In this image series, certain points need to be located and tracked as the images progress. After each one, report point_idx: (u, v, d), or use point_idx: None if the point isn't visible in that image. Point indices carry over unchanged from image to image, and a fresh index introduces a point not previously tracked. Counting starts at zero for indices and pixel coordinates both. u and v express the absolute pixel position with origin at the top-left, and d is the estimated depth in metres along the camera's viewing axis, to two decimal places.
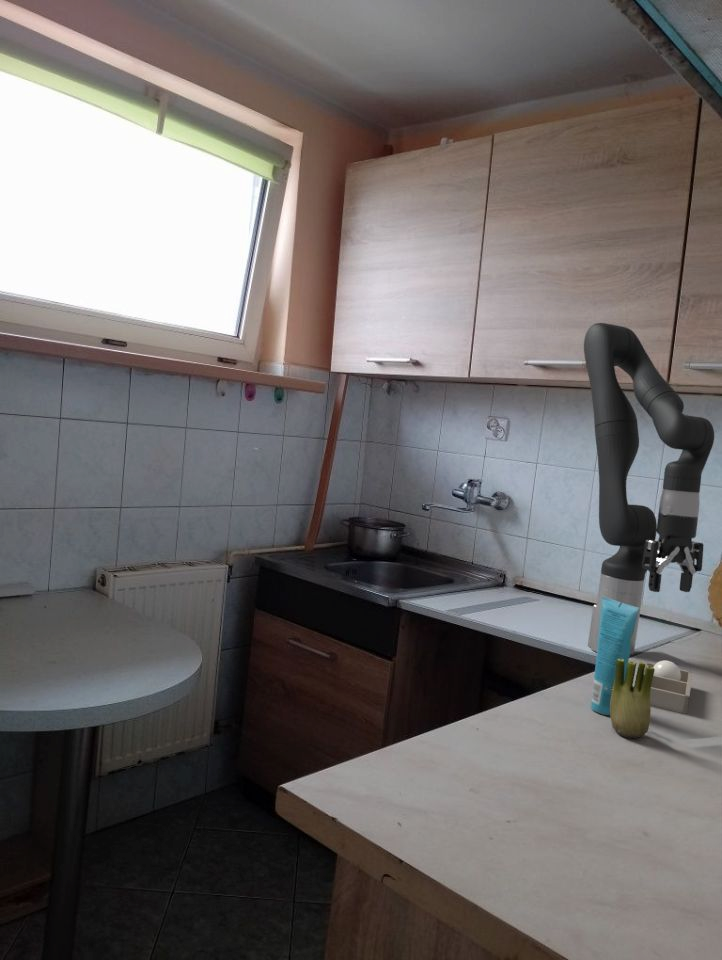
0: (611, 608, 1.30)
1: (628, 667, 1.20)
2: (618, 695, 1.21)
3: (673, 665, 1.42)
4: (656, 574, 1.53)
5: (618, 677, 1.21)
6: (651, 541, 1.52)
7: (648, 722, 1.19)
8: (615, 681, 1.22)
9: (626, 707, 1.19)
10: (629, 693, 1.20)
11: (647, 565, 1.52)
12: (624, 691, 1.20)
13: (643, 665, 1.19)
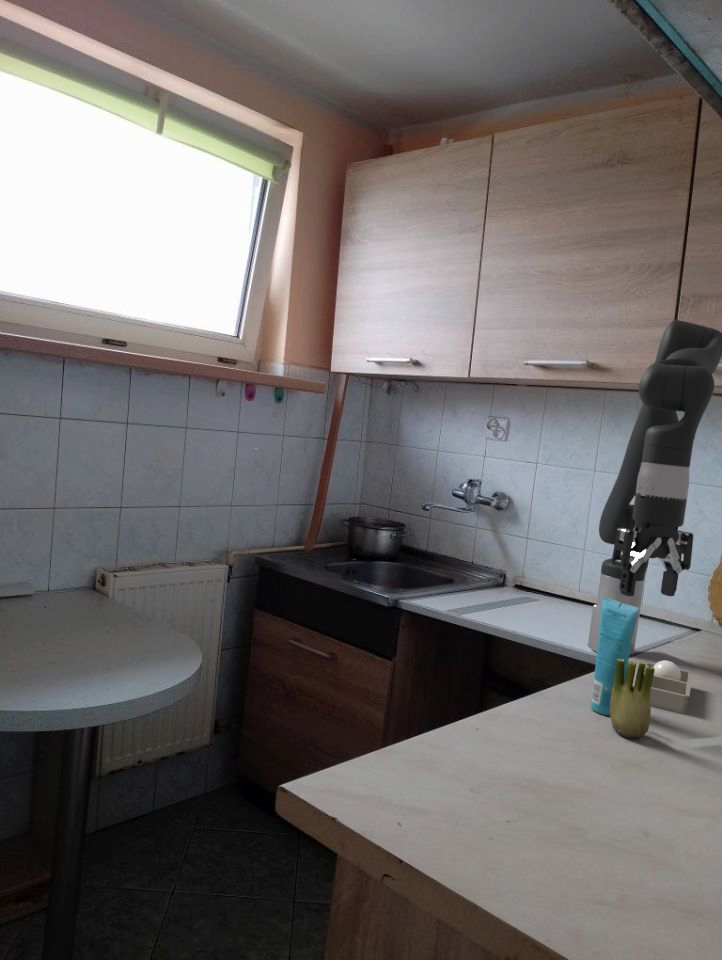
0: (611, 608, 1.30)
1: (628, 667, 1.20)
2: (618, 695, 1.21)
3: (673, 665, 1.42)
4: (630, 573, 1.16)
5: (618, 677, 1.21)
6: (624, 530, 1.16)
7: (648, 722, 1.19)
8: (615, 681, 1.22)
9: (626, 707, 1.19)
10: (629, 693, 1.20)
11: (618, 561, 1.16)
12: (624, 691, 1.20)
13: (644, 665, 1.19)
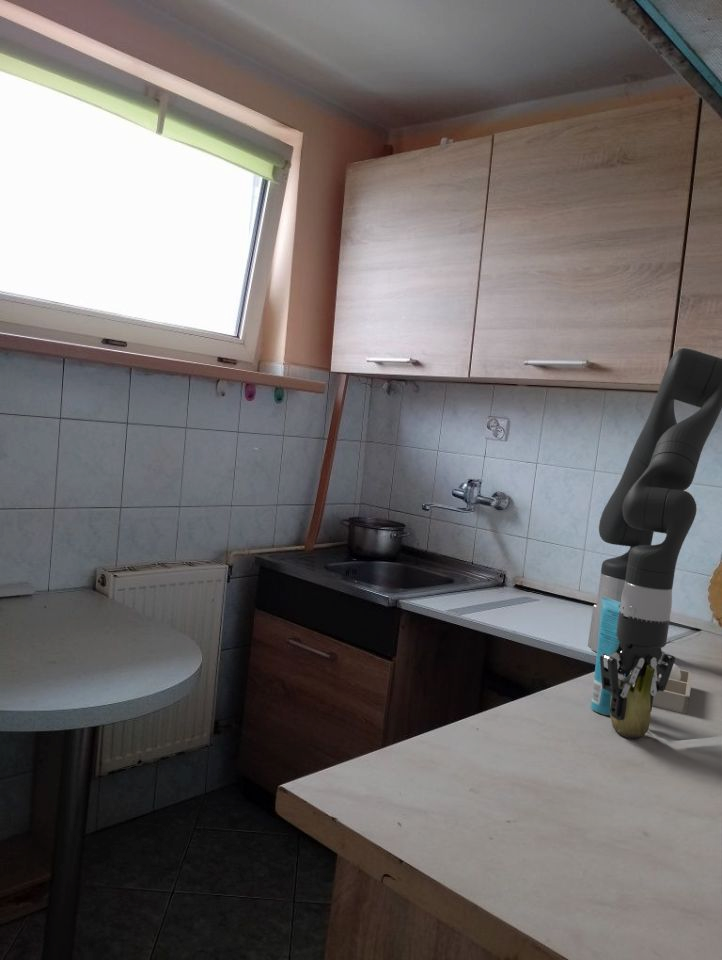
0: (611, 608, 1.30)
1: None
2: None
3: (673, 665, 1.42)
4: (620, 698, 1.18)
5: None
6: (606, 658, 1.17)
7: (648, 722, 1.19)
8: None
9: (626, 707, 1.19)
10: (629, 693, 1.20)
11: (608, 688, 1.18)
12: None
13: None
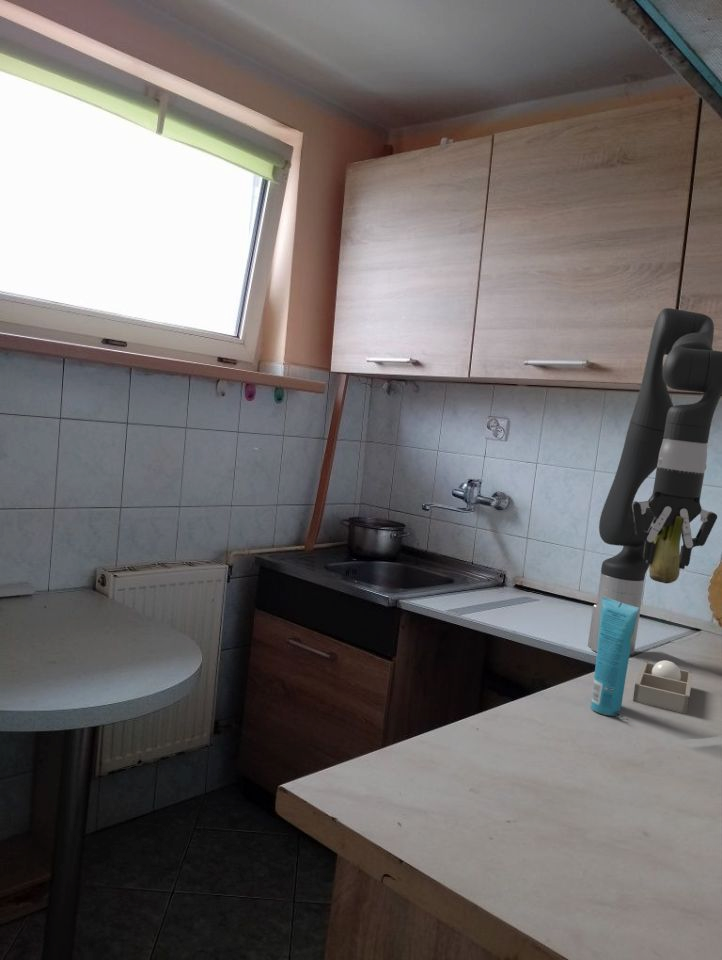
0: (611, 608, 1.30)
1: None
2: None
3: (673, 665, 1.42)
4: (648, 542, 1.30)
5: None
6: (633, 503, 1.31)
7: (674, 568, 1.27)
8: None
9: (656, 553, 1.30)
10: (661, 541, 1.30)
11: None
12: (659, 539, 1.30)
13: None
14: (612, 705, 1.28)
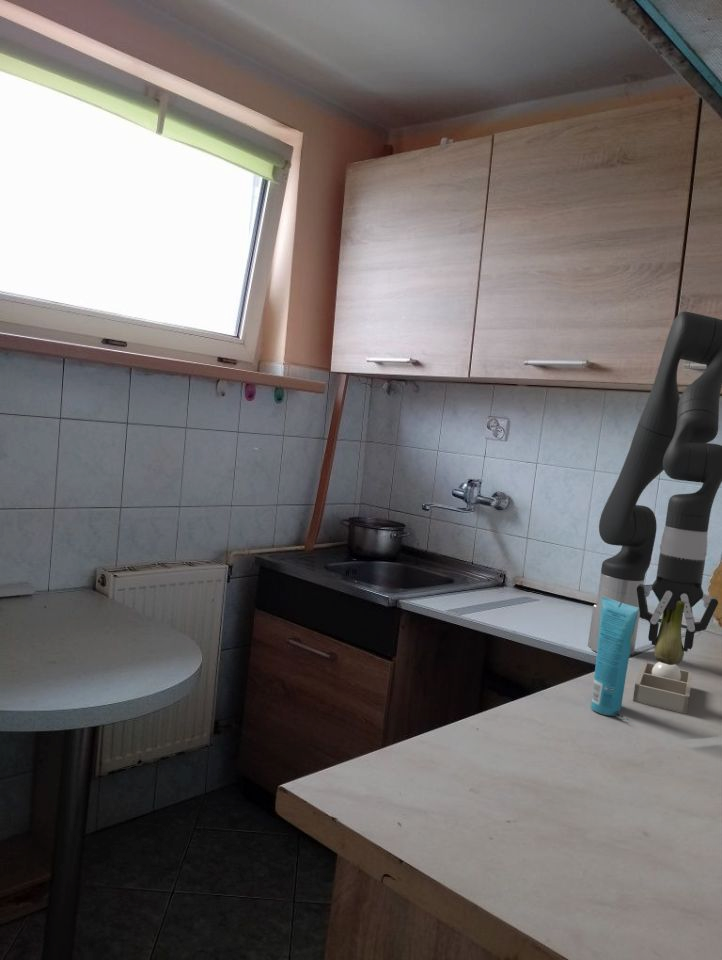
0: (611, 608, 1.30)
1: None
2: (660, 625, 1.37)
3: (673, 665, 1.42)
4: (652, 624, 1.36)
5: None
6: (637, 586, 1.38)
7: (675, 651, 1.33)
8: None
9: (660, 635, 1.36)
10: (665, 624, 1.36)
11: None
12: (663, 622, 1.36)
13: None
14: (612, 705, 1.28)
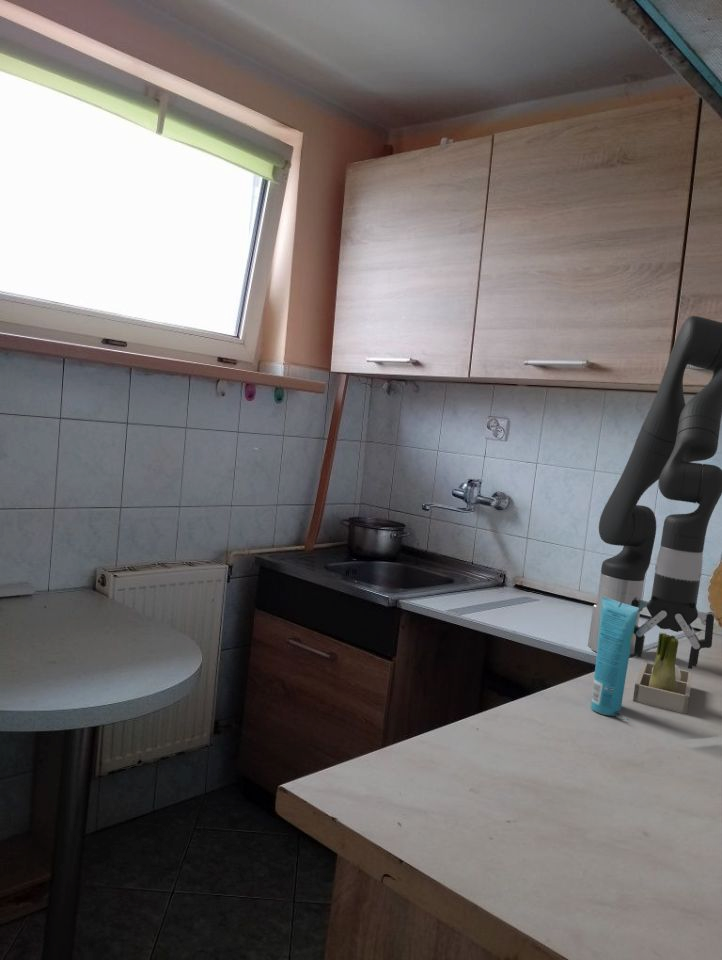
0: (611, 608, 1.30)
1: (662, 638, 1.37)
2: (654, 663, 1.38)
3: None
4: (638, 637, 1.37)
5: (657, 647, 1.38)
6: (633, 599, 1.38)
7: (669, 689, 1.33)
8: None
9: (654, 672, 1.36)
10: (659, 661, 1.36)
11: None
12: (657, 659, 1.37)
13: (672, 638, 1.35)
14: (612, 705, 1.28)
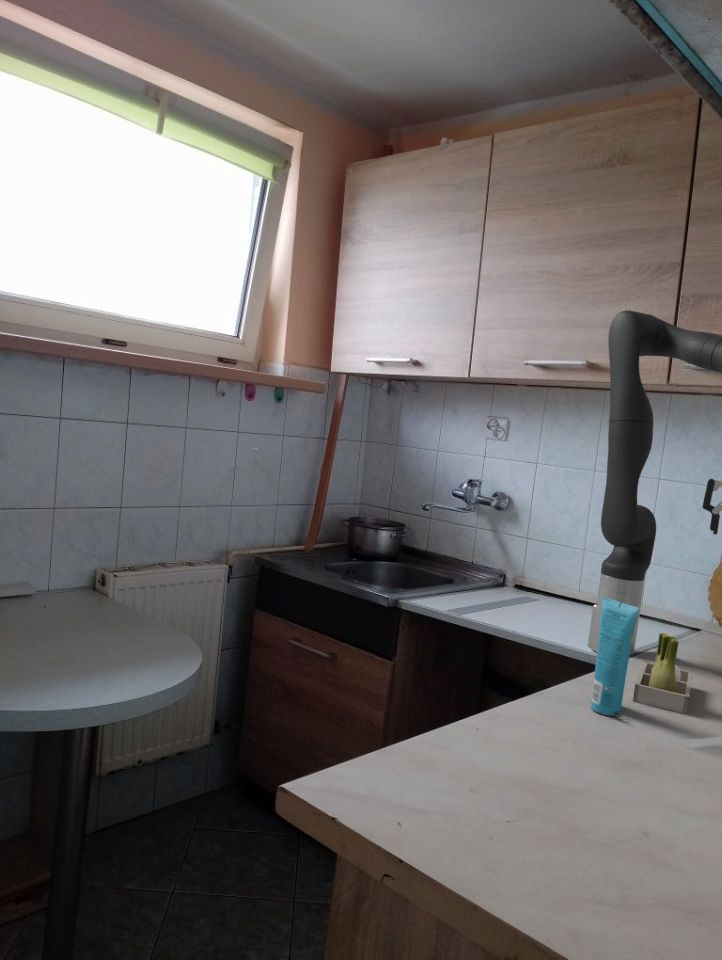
0: (611, 608, 1.30)
1: (662, 639, 1.37)
2: (654, 663, 1.38)
3: None
4: (714, 515, 1.44)
5: (657, 647, 1.38)
6: None
7: (669, 689, 1.33)
8: None
9: (654, 673, 1.36)
10: (659, 662, 1.36)
11: None
12: (657, 659, 1.37)
13: (672, 638, 1.35)
14: (612, 705, 1.28)
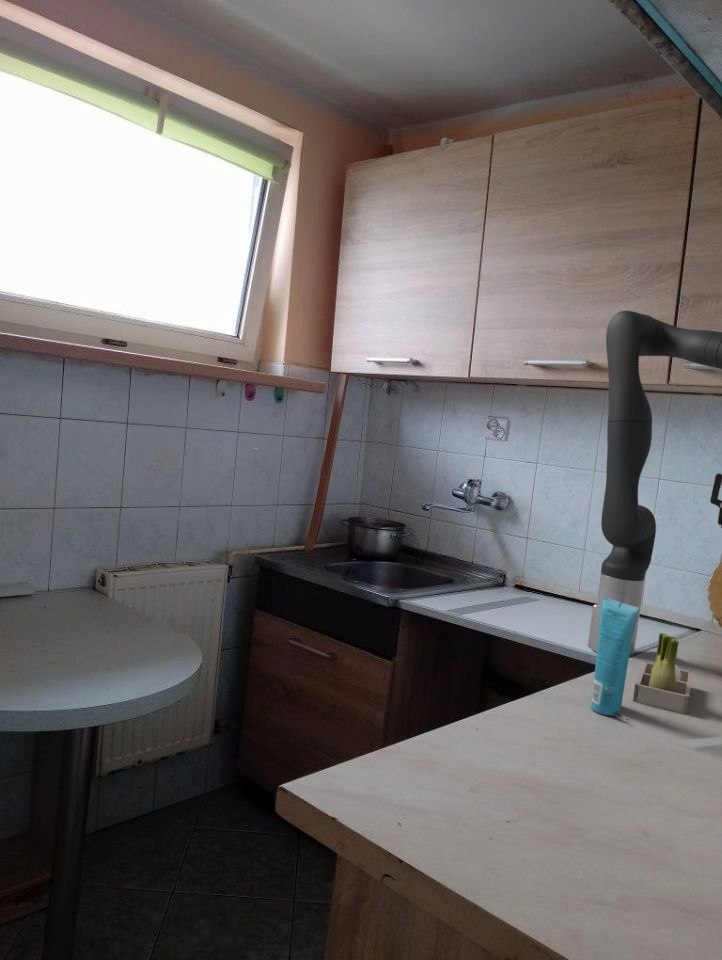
0: (611, 608, 1.30)
1: (662, 639, 1.37)
2: (654, 663, 1.38)
3: None
4: (721, 509, 1.46)
5: (657, 647, 1.38)
6: (716, 474, 1.46)
7: (669, 689, 1.33)
8: None
9: (654, 673, 1.36)
10: (659, 662, 1.36)
11: None
12: (657, 659, 1.37)
13: (672, 638, 1.35)
14: (612, 705, 1.28)
